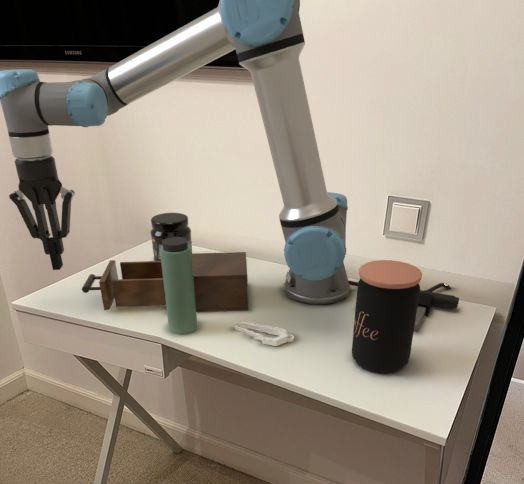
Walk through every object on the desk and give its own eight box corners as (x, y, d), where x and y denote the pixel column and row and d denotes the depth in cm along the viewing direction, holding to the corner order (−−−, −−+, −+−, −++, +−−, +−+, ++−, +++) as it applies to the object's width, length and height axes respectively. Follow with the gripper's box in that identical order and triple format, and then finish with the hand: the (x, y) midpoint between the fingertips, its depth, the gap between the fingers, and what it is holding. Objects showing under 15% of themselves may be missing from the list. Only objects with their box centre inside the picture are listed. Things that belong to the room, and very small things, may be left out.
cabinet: (168, 313, 119) (164, 277, 115) (174, 287, 131) (170, 254, 126) (248, 310, 120) (247, 274, 115) (246, 285, 131) (245, 251, 127)
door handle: (448, 327, 107) (461, 292, 119) (351, 309, 115) (372, 277, 126) (445, 341, 109) (458, 305, 121) (350, 322, 116) (371, 290, 128)
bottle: (201, 322, 115) (195, 237, 105) (190, 336, 110) (182, 247, 100) (176, 319, 117) (167, 234, 107) (163, 332, 112) (153, 244, 102)
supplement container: (167, 252, 151) (163, 210, 145) (200, 257, 148) (197, 214, 141) (146, 265, 143) (140, 221, 137) (180, 271, 139) (176, 226, 133)
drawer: (82, 310, 118) (76, 282, 115) (94, 287, 129) (89, 260, 126) (179, 307, 119) (176, 279, 116) (183, 284, 130) (180, 258, 126)
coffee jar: (345, 347, 106) (352, 261, 96) (398, 344, 106) (410, 258, 97) (358, 377, 97) (367, 285, 87) (416, 374, 97) (431, 282, 88)
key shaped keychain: (227, 337, 109) (226, 330, 108) (237, 326, 113) (236, 319, 112) (287, 349, 105) (287, 341, 104) (295, 337, 109) (295, 329, 108)
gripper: (71, 152, 111) (91, 260, 123) (7, 153, 110) (33, 261, 122) (62, 160, 104) (83, 273, 117) (-7, 161, 104) (22, 274, 116)
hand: (58, 267), depth 120 cm, fingers closed
